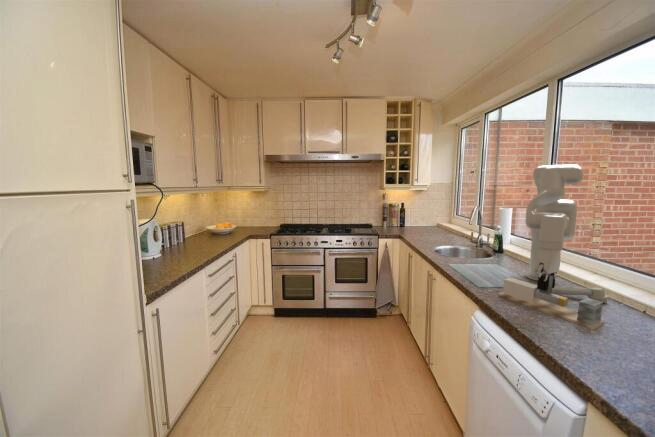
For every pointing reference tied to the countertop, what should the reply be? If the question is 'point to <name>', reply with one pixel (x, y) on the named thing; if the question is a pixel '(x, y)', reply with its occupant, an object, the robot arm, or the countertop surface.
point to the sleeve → (520, 289)
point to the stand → (569, 311)
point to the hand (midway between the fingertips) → (545, 287)
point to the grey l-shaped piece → (550, 294)
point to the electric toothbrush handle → (582, 292)
